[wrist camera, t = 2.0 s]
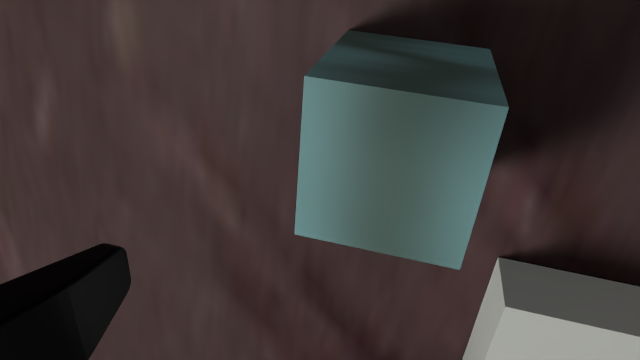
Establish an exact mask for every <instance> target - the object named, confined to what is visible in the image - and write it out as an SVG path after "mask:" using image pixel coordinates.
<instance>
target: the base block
mask: <svg viewBox="0 0 640 360" xmlns="http://www.w3.org/2000/svg"><path fill="white" fill-rule="evenodd" d="M462 360H640V287H639V286H634V285H629V284H625V283H620V282H615V281H610V280H605V279H601V278H596V277H591V276H586V275H581V274H577V273H572V272H567V271H562V270H557V269H553V268H548V267H543V266H538V265H533V264H529V263H524V262H519V261H514V260H509V259H505V258H500V257H498V259H497V262H496V264H495V267H494V270H493V273H492V276H491V279H490V282H489V284H488V287H487V290H486V293H485V296H484V299H483V302H482V304H481V307H480V310H479V313H478V316H477V319H476V322H475V325H474V327H473V330H472V333H471V336H470V339H469V342H468V345H467V347H466V350H465V353H464V356H463V359H462Z"/></svg>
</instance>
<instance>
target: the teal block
mask: <svg viewBox="0 0 640 360" xmlns="http://www.w3.org/2000/svg"><path fill="white" fill-rule="evenodd" d="M508 109H509V106H508V103H507V100H506V97H505V94H504V91H503V87H502V84H501V81H500V78H499V75H498V72H497V69H496V66H495V63H494V60H493V57H492V53H491V50H490V49H485V48H478V47H471V46H463V45H456V44H448V43H441V42H433V41H426V40H418V39H411V38H403V37H396V36H389V35H381V34H374V33H366V32H359V31H351V30H348V31H347V32H346V33H345V34H344V35H343V36H342V37H341V38H340V39H339V40H338V41H337V43H336V44H335V45H334V46H333V47H332V48H331V49H330V50H329V51H328V52H327V53H326V54H325V55H324V56H323V57H322V58H321V59H320V60H319V61H318V62H317V63H316V64H315V65H314V67H313V68H312V69H311V70H310V71H309V72H308V73H307V74H306V75H305V76H304V90H303V106H302V122H301V138H300V154H299V170H298V186H297V202H296V218H295V234H296V235H301V236H305V237H310V238H314V239H319V240H324V241H328V242H333V243H338V244H342V245H347V246H352V247H356V248H361V249H366V250H370V251H375V252H379V253H384V254H389V255H393V256H398V257H403V258H407V259H412V260H417V261H421V262H426V263H430V264H435V265H440V266H444V267H449V268H454V269H458V270H460V268H461V265H462V261H463V258H464V255H465V251H466V248H467V245H468V241H469V238H470V235H471V231H472V228H473V225H474V222H475V218H476V215H477V212H478V208H479V205H480V202H481V198H482V195H483V192H484V188H485V185H486V182H487V179H488V175H489V172H490V169H491V165H492V162H493V159H494V155H495V152H496V149H497V145H498V142H499V139H500V136H501V132H502V129H503V126H504V122H505V119H506V116H507V112H508Z"/></svg>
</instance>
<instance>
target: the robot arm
mask: <svg viewBox="0 0 640 360" xmlns="http://www.w3.org/2000/svg"><path fill="white" fill-rule="evenodd" d="M130 284H131V277H130V271H129V265H128V259H127V253H126V251H125V249H124V248H122V247H120V246H115V245H111V244H106V243H103V244H99V245H97V246H94V247H92V248H89V249H87V250H84V251H82V252H80V253H77V254H75V255H72V256H70V257H67V258H65V259H62V260H60V261H57V262H55V263H52V264H50V265H47V266H45V267H42V268H40V269H37V270H35V271H33V272H30V273H28V274H25V275H23V276H20V277H18V278H15V279H13V280H10V281H8V282H5V283H3V284H0V360H88V359H89V358H90V356H91V355H92V353H93V351H94V350H95V348H96V346H97V344H98V343H99V341H100V339H101V338H102V336H103V334H104V332H105V331H106V329H107V327H108V326H109V324H110V322H111V320H112V319H113V317H114V315H115V313H116V312H117V310H118V308H119V307H120V305H121V303H122V301H123V300H124V298H125V296H126V294H127V293H128V291H129V288H130Z"/></svg>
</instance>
